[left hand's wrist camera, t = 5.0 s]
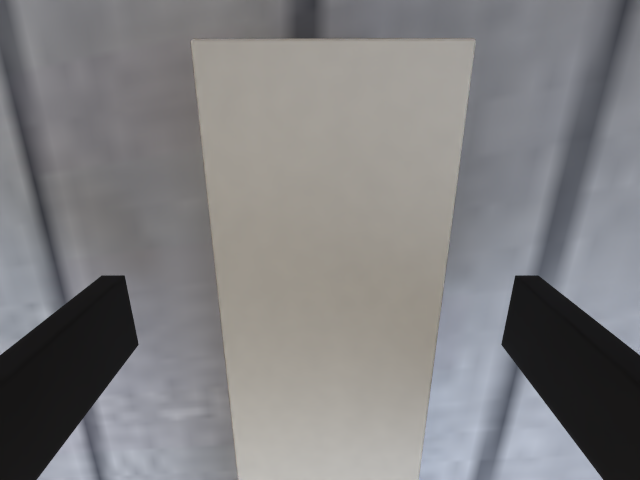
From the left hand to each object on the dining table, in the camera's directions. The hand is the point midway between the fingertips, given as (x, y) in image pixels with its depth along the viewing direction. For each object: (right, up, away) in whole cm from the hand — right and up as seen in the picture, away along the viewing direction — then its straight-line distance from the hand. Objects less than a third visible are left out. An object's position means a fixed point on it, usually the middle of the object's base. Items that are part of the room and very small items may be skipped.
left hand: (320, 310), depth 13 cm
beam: (0, -23, +12) cm, 26 cm away
